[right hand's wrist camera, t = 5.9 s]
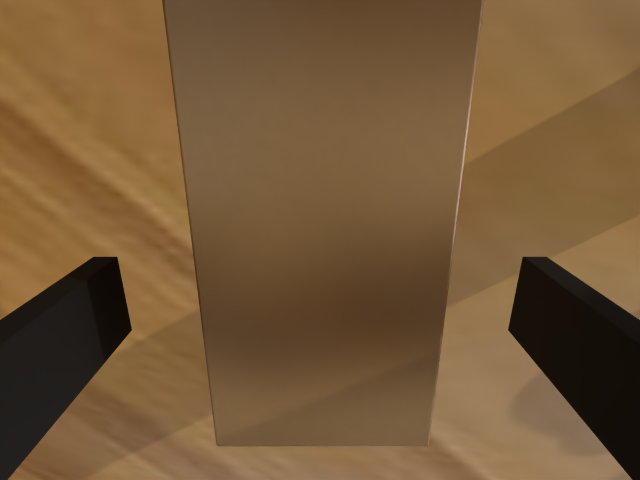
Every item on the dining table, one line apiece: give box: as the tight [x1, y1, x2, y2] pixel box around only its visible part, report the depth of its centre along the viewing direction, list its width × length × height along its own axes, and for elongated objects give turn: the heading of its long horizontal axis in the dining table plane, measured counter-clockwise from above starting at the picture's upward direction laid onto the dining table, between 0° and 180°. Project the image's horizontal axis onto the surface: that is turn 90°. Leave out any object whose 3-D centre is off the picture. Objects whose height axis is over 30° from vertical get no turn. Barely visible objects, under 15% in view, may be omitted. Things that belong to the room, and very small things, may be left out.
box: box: [162, 0, 484, 446], centre depth 11 cm, size 23×6×9 cm, turn 0°
